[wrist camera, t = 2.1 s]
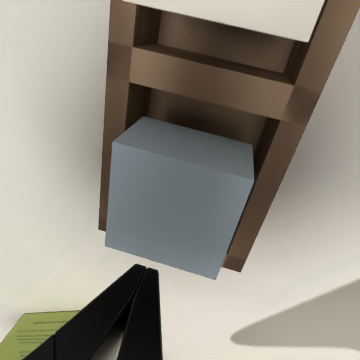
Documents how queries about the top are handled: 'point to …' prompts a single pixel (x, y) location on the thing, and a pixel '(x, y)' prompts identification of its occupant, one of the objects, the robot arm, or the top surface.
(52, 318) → the protein box
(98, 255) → the top surface
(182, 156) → the slate key
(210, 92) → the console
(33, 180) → the top surface
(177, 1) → the cream block
